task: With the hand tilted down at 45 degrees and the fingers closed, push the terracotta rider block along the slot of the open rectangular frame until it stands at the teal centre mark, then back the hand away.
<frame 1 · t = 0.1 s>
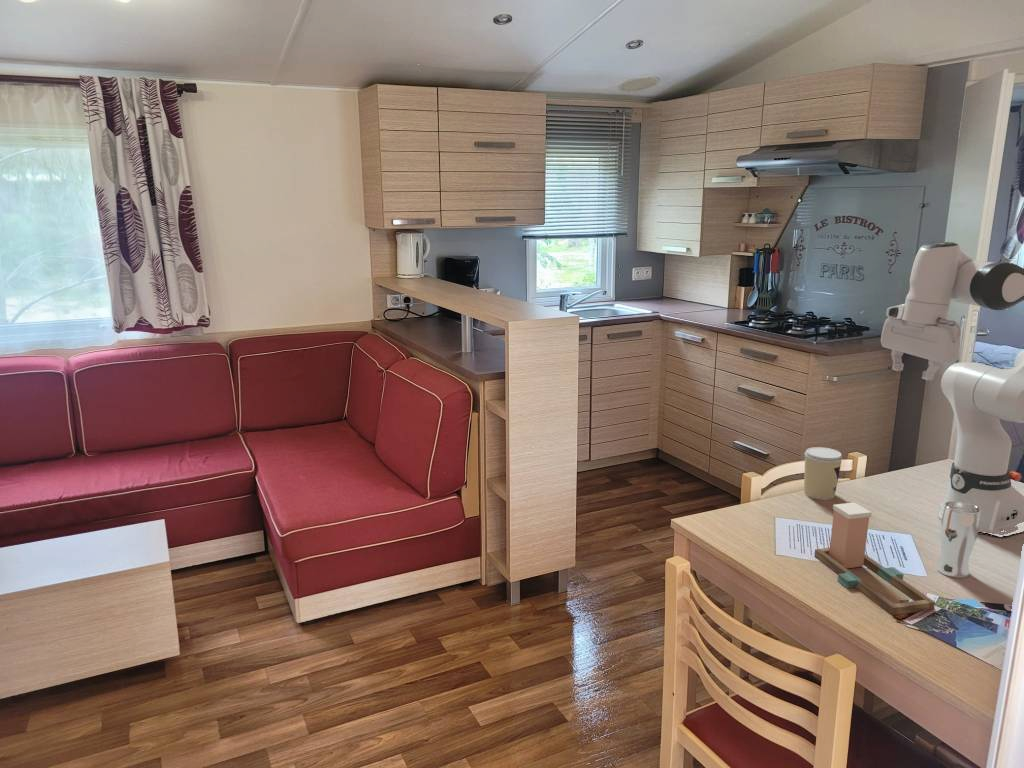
hand: (911, 374, 170), 39 cm above the table, tool pointing down, fingers open, 8 cm apart
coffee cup: (819, 494, 202), on the table
rider: (848, 535, 163), point 7 cm above the table, slide at -8.0 cm
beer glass: (952, 572, 161), on the table
open rectangular frame: (870, 580, 157), on the table
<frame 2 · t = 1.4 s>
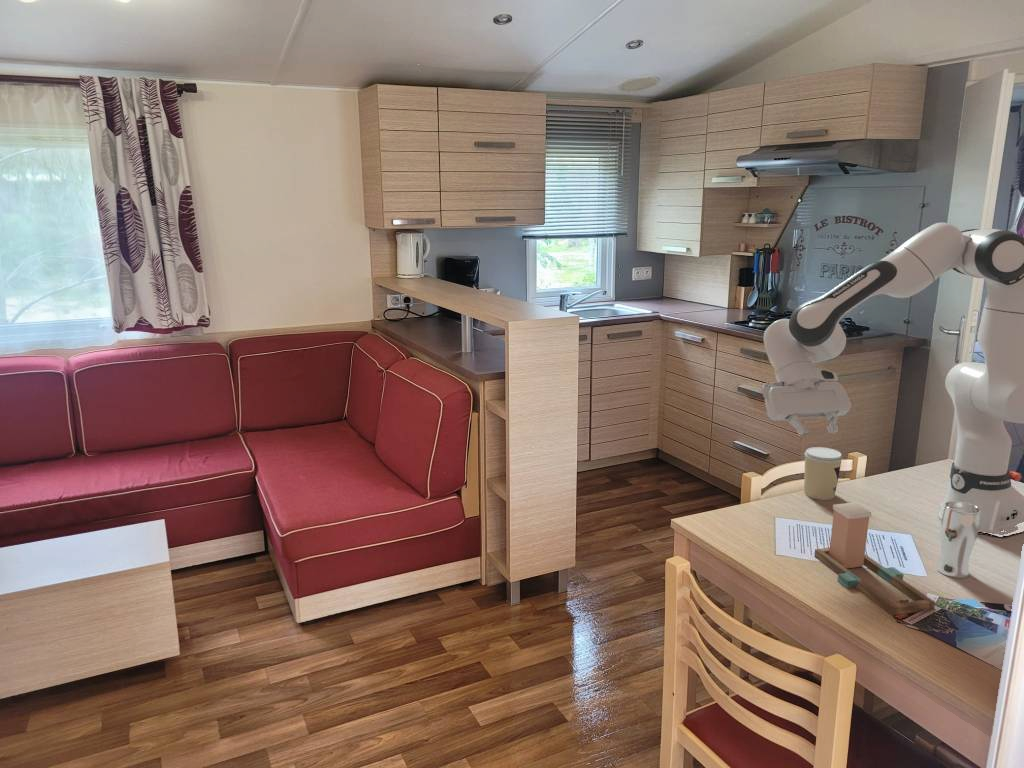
hand: (819, 433, 171), 26 cm above the table, tool tilted 45°, fingers open, 6 cm apart
nothing on the table moved.
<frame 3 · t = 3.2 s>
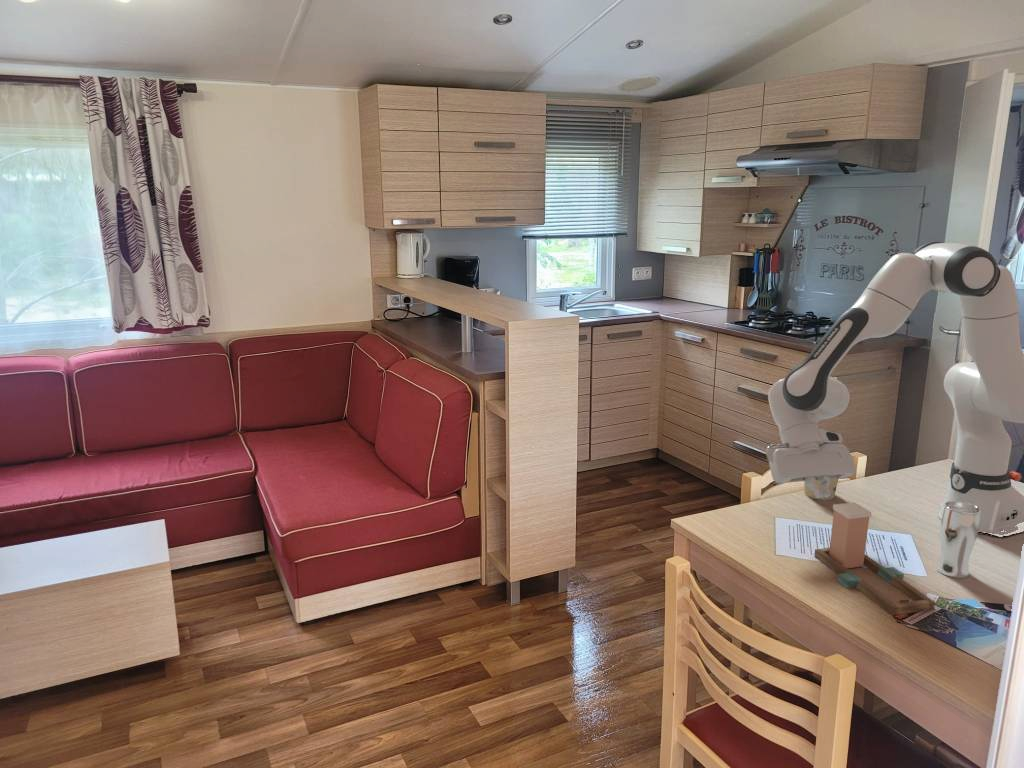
hand: (823, 496, 171), 12 cm above the table, tool tilted 45°, fingers closed
nothing on the table moved.
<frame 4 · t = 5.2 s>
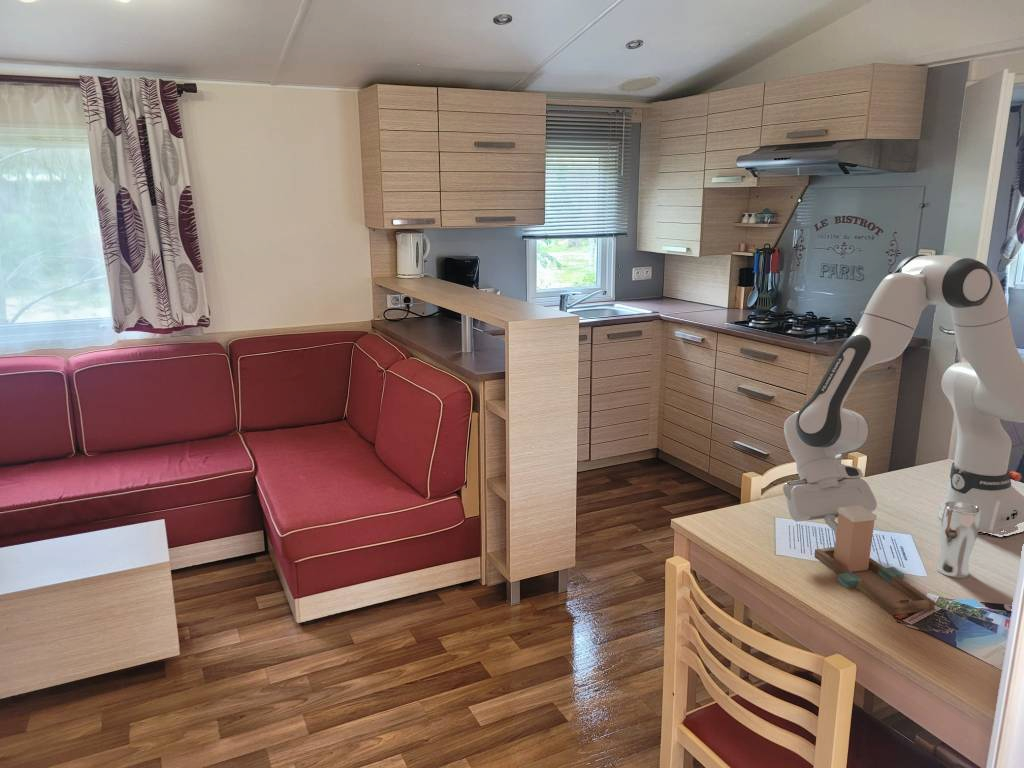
hand: (843, 535, 165), 6 cm above the table, tool tilted 45°, fingers closed, pressing on rider
rider: (853, 538, 162), point 7 cm above the table, slide at -6.4 cm, touching gripper
everything else where it was.
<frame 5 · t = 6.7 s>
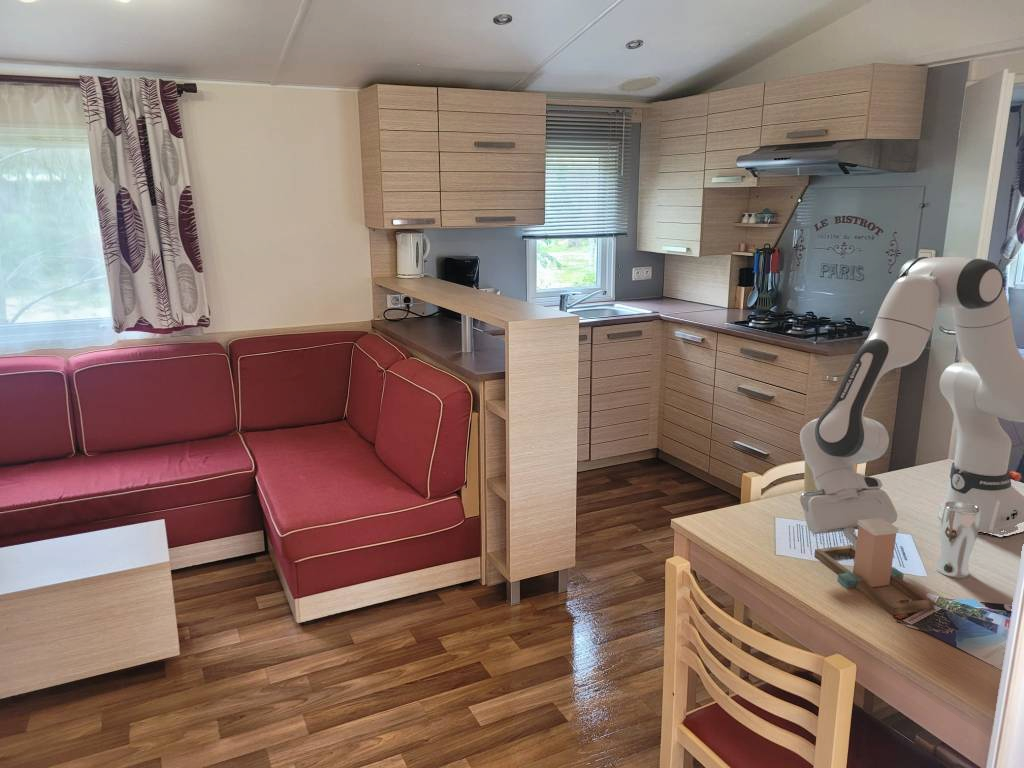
hand: (863, 548, 159), 6 cm above the table, tool tilted 45°, fingers closed, pressing on rider
rider: (874, 552, 155), point 7 cm above the table, slide at 0.1 cm, touching gripper
everything else where it was.
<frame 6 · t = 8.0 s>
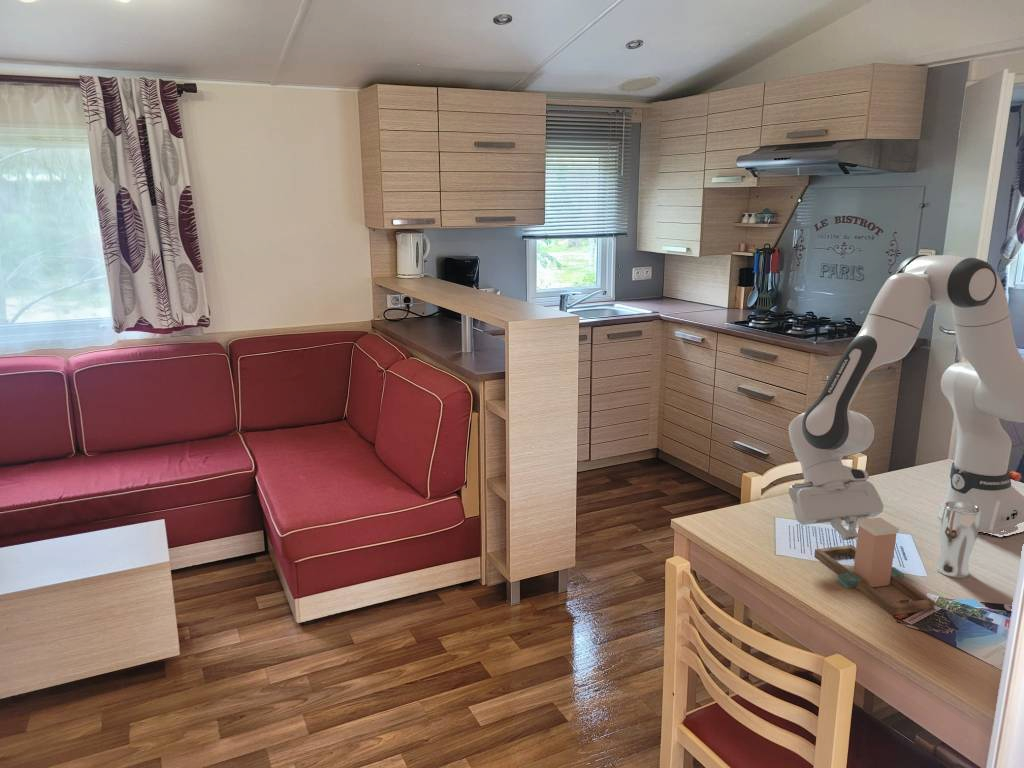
hand: (850, 538, 163), 6 cm above the table, tool tilted 45°, fingers closed
rider: (874, 552, 155), point 7 cm above the table, slide at 0.2 cm
everything else where it was.
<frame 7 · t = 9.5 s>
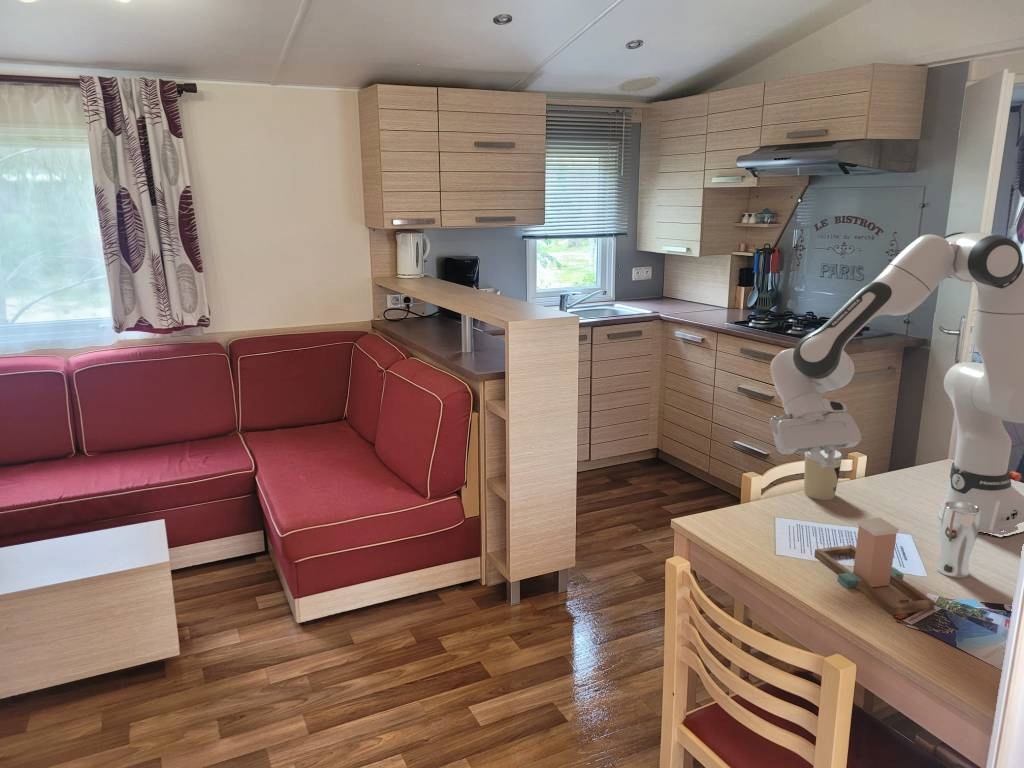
hand: (829, 466, 169), 19 cm above the table, tool tilted 45°, fingers closed
nothing on the table moved.
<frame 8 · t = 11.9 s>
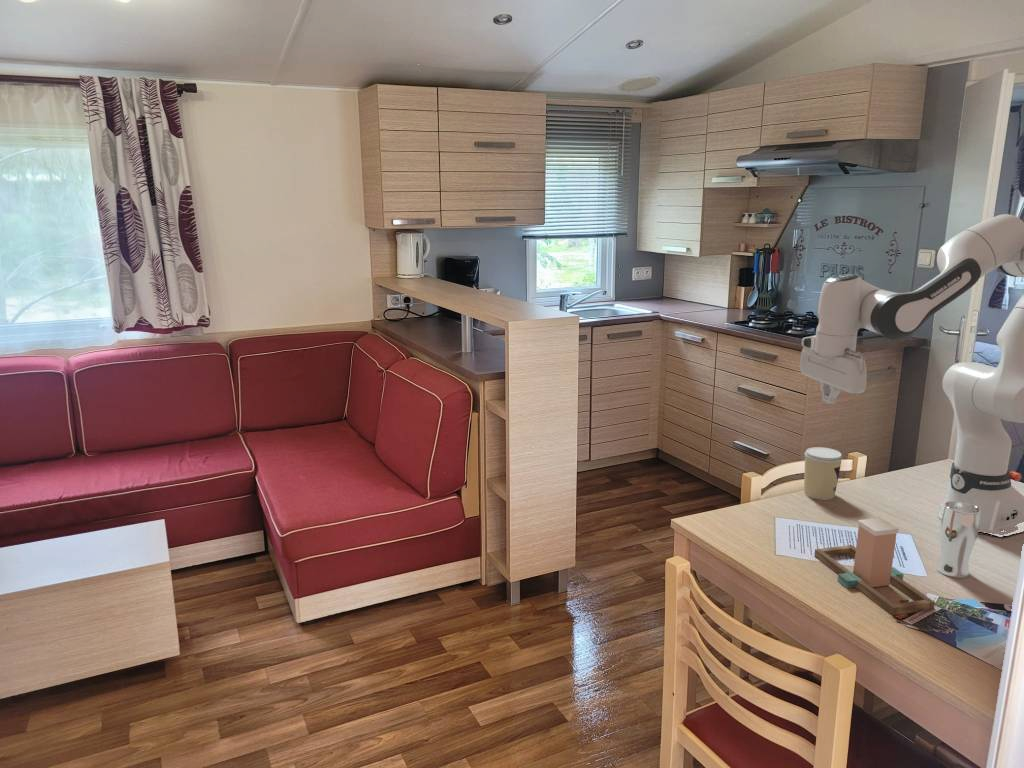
hand: (829, 402, 177), 31 cm above the table, tool pointing down, fingers closed
nothing on the table moved.
at the end: rider slide at 0.2 cm; the gripper is holding nothing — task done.
